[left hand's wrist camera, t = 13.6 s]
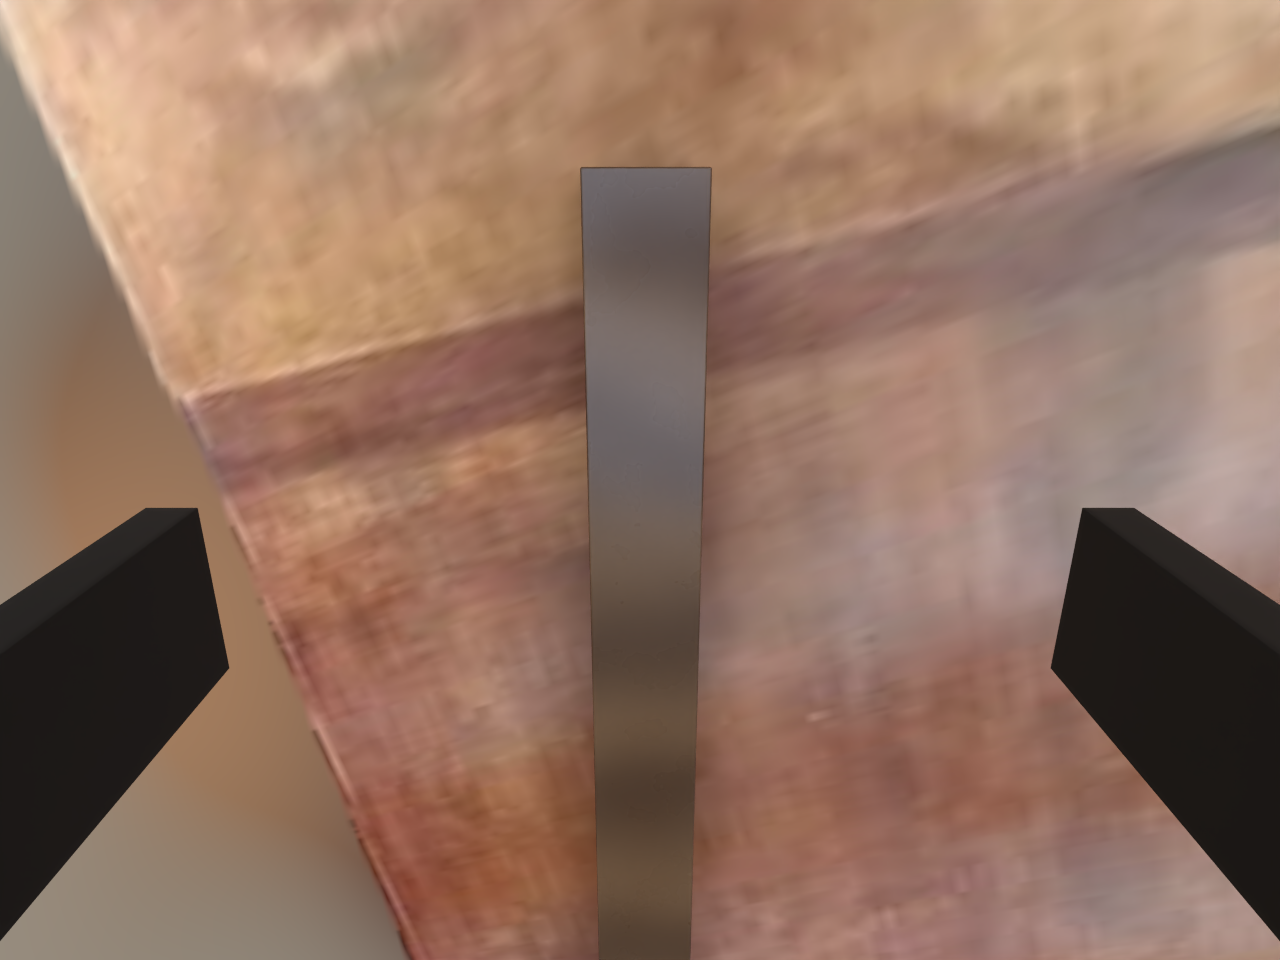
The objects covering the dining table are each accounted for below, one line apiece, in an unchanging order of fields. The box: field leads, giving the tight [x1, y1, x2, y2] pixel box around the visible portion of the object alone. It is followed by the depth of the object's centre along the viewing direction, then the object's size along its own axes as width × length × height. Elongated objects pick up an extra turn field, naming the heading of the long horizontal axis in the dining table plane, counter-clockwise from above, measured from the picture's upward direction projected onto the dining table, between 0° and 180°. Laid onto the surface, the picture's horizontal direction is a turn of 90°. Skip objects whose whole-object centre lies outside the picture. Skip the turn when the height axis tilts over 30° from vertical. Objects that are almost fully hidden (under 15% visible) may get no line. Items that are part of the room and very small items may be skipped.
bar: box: [580, 167, 712, 960], centre depth 43 cm, size 68×4×9 cm, turn 0°
